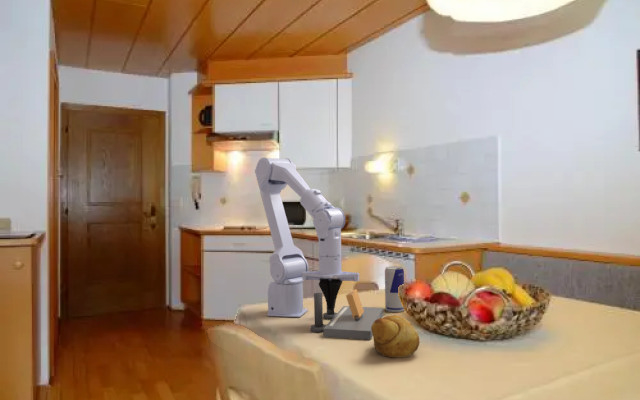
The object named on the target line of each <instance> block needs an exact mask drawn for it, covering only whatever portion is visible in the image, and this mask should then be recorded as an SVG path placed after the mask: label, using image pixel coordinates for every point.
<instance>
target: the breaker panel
mask: <svg viewBox="0 0 640 400" xmlns="http://www.w3.org/2000/svg"><path fill="white" fill-rule="evenodd" d="M362 307H363V310H364V312H363V314H362V315H361V317H360V318H359V319H358V320H355V319H354V318H353V315H352V312H351V309H350V306H349V305H348V306H345V305H343V306H342V307H341V308H340V309H339V311H337V312H336V313H337V314H336V315H335V316H334V317H333V318H332V320H329V322H327V324H325V325H326V326H325V327H324V328H323V330H324V332H323V338H331V337H333V338H334V339H335V338H336V339H347V338H351V339H352V340H363V341H365V340H367V341H368V340H369V341H371V340H372V338H373V333H372V329H371V327H372V324H373V322H374V321H375V320H377V319H380V318H384V307H375V306H374V307H372V306H371V307H369V306H362ZM351 339H350V340H351Z"/></svg>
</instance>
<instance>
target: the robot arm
mask: <svg viewBox="0 0 640 400" xmlns="http://www.w3.org/2000/svg"><path fill="white" fill-rule="evenodd" d="M254 173H255V177H256V180H257V184H258V188H259V194H260V197H261V200H262V204H263V208H264V212H265V216H266V219H267V223H268V227H269V231H270V236H271V238H272V242H273V247H274V251H273V252H272V254H271V255H270V256H269V258H268V260H269V263H270V264H269V271H270V272H269V273H270V276H271V279H272V281H270V283H269V284H268V288H267V316H269V317H283V318H284V317H286V318H288V317H289V318H301V317H302V316H304V314H305V313H307V312H308V310H309V309H308V308H304V285H303V284H304V281H307V280H308V281H319V282H318V287H319V288H320V290H321V293H322V295H323V296H324V299H325V302H326V308H327V307H328V310H333V309H334V310H335V308H336V302H337V298H338V293H339V291H340V289H341V286H342V284H343V281H344V282H346V281H347V282H360V272H350V271H342V229H343V228H344V227H345V225H346V216H345V212H344V211H343V210H342V208H340V207H335V206H333V205H332V203H331V202H329V201H328V200H327V199H326V198H325V197H324V195H322V191H321V190H320V189H317V188H310V186H309V185H308V184H307V182H306V181H305V180H304V179H303V177H302V176H301V174H300V173H299V172H298V171H297V165H296V164H295V163H294V162H293V160H292V159H291V158H271V157H269V158H268V157H266V156H265V157H261V158H260V159H258V162H257V164H256V166H255V170H254ZM287 186H289V187H290V189H292V190H293V191H294V192H295V193H296V194H297V195H298V196H299V197H300V199H299V202H300V205H301V206H302V208H304V209H305V210H306V212H307V213H308V214H309V215H310V216H311V217H312V219H313V220H312V223H313V226H314V228H315V231H316V237H317V239H318V267H319V268H318V270H317V271H313V270H312V271H309V269H310V268H309V263H308V261H307V259H306V258H305V255H304V252H303V251H302V250H301V248H299V247H298V246H296V245H294V241H293V237H292V233H291V230H290V226H289V223H288V222H289V221H288V218H287V216H286V211H285V207H284V204H283V200H282V197H281V192H282V190H284V189H285V188H286V187H287Z"/></svg>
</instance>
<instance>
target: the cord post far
mask: <svg viewBox="0 0 640 400" xmlns="http://www.w3.org/2000/svg"><path fill="white" fill-rule="evenodd" d="M337 313H338V312H335V308H334V309H333V310H328V307H327V306H326V312H323V320H327V319H328V320H329V321H331V320H332V318H333V317H334V316H335V315H336V314H337Z"/></svg>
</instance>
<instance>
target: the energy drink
mask: <svg viewBox="0 0 640 400" xmlns="http://www.w3.org/2000/svg"><path fill="white" fill-rule="evenodd" d="M402 284H404V285H405V269H404V267H402V266H396V265H395V266H391V265H390V266H386V267H385V269H384V293H385V294H384V297H385V301H384V302H385V303H384V305H385V311H387V312H389V313H402V312H404V311H405V310H404V308H403V306H402V304H401V301H400V299H399V296H398V287H399V286H400V285H402Z"/></svg>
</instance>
